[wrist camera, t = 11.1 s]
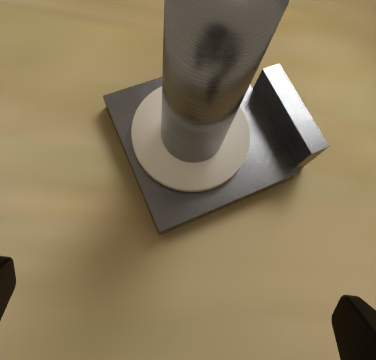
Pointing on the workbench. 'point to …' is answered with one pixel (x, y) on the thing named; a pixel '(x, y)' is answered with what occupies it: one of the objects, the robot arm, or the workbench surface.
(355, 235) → the workbench surface
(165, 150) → the pan
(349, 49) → the workbench surface
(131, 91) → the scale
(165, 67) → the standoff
